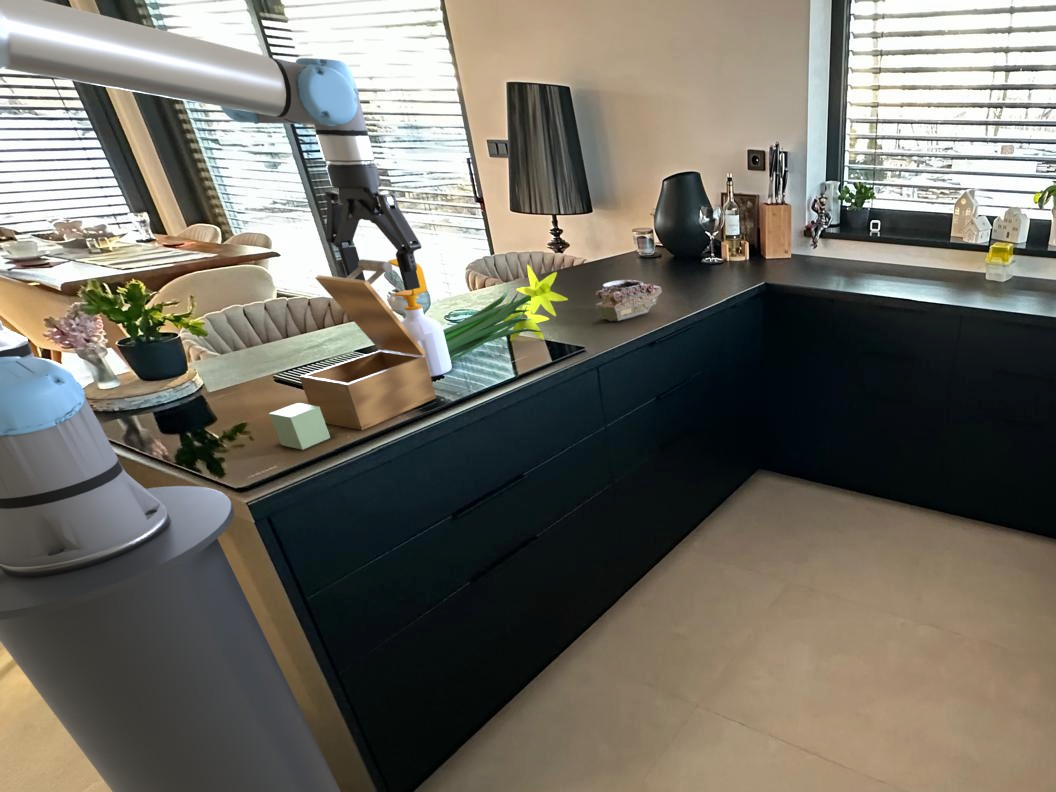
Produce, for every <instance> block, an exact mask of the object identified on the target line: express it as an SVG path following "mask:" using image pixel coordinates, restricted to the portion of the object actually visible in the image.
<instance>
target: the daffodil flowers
mask: <svg viewBox="0 0 1056 792" xmlns="http://www.w3.org/2000/svg"><path fill="white" fill-rule="evenodd" d="M526 267H527V269H526V270H527V277H528V281H529V285H530V286H522V287H518V288H516V291H517V292H515V295H514V296H513V298H512V299H511V300H506V303H505V304H502V303H503V302H504V301H505V299H506V297H507V296H508V293H509V290H510V289H509V288H508V289H507V290H506V291H505V292H504V293H503V295H501V296H500V297H499V298H498V299H496V300H495V301H493V302H492V303H490V304H488V305H487V306H485V307H484V308H482V309H481V310H479V311H477V312H475V313H473V314H472V315H470V316H469V317H467V318H465V319H463V320H462V321H460V322H458V323H456V324H453V325H451V326H448V327H446V328H443V332H444V336H445V340H446V344H447V348H448V352H449V356H450V360H451V363H452V362H453V361H455V360H457V359H459V358H461V357H463V356H465V355H467V354H468V353H470V352H473V351H474V350H476V349H477V348H479V347H481V346H483V345H484V344H487V343H490V342H493V341H495V340H499V339H501V338H504V337H508V336H510V337H509V342H513V341H514V340H515V339H516V338H517V337H518V336H519V335H520V334H521V333H523V332H531V333H532V334H533V335H535V336H536V337H538V338H540V339H541V340H545V337H544V334H543V331H542V330H541V329H540V327H539V326H538V325H537V324H538V323H543V322H545V321H549V320H550V318H549V317H548V316H545V315H542V314H536V312H537V311H538V309H539V307H540V306H542V307H543V309H544V310H545V311H546V312H547V313H549V314H550V315H552V316H554V317H557V314H556V311H555V309H554V306H553V305H552V302H565V301H568V300H569V298H567V297H566V296H564V295H562V294H560V293H557V292H555V291H551V287H552V285H553V284H554V282H555V279H556V277H557V274H558V272H557V271H555V272H552V273H551V274H548V276H546V277H545V278H543V279H542V280H540V281H539V279H538V277H537V275H536V274H535V272H534V270H533V269H532V267H531V266H530V265H529V264H528V263H527V264H526ZM519 293H521V294H522V295H521V296H520V298H519V299H517V300H516V298H517V296H518V294H519ZM523 294H524V295H526V296H524V295H523ZM501 304H502V305H501ZM520 306H521V308H520Z"/></svg>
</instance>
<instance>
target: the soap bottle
mask: <svg viewBox="0 0 1056 792" xmlns="http://www.w3.org/2000/svg"><path fill="white" fill-rule="evenodd" d="M387 262H389V263H390V264H391V265H392V266H394V267H397V268H399V265H398V262H397V258H393V259H389V260H388V261H387ZM416 266H417V270H416V273H417V277H418V281H419V285H420V288H416V289H412V290H405V289H404V290H401V291H397V292H394V297H402V299H403V300H404V301H406V305H404V306H403V308H404V312H405V318H404V319H402V320H400V322H401V323H402V324H403V325H404V327H405V328H406V329H407V330H408V331H409V333H410V334H411V335H412V336H413V338H414V339H415V340H416V341H417V342H418V344H419V345H420V346H421V347H422V349H423V350H424V351H425V352H426V354H425V355H424V356H423V357H426V361H427V365H428V369H429V372H430V376H431V378H432V377H438V376H442V375H444V374H446V373H449V372H450V371H451V370H452V367H453V365H452V362H451V360H450V359H451V357H450V356H449V352H448V348H447V344H446V340H445V336H444V332H443V330H444V328H443V325H442V324H441V323H440V321H438V320H437V319H434V318H432V317H430V316H427V315H425V313H424V309H423V306H422V304H420V303H417V299H419V297H418V295H421V294H424V293H426V292H427V291H428V285H427V281H426V279H425V274H424V271H423V267H421V265H420V264H418V263H417V262H416ZM399 353H402V352H399ZM403 354H408V353H403ZM410 355H415V354H410ZM416 356H422V355H416Z"/></svg>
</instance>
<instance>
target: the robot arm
mask: <svg viewBox="0 0 1056 792" xmlns="http://www.w3.org/2000/svg"><path fill="white" fill-rule="evenodd" d="M2 70H8V71H15V72H21V73H27V74H33V75H39V76H44V77H49V78H54V79H61V80H66V81H72V82H78V83H84V84H89V85H95V86H101V87H106V88H111V89H117V90H123V91H130V92H135V93H141V94H146V95H151V96H157V97H158V96H159V97H163V98H168V99H173V100H180V101H185V102H190V103H196V104H203V105H208V106H215V107H219V108H220V109H221V111H222V112H223V113H224V114H225V115H226V116H227V117H228V118H229V119H231V120H233V121H235V122H239V123H248V124H250V123H251V124H254V125H259V124H279V125H282V124H283V125H312V126H313V128H314V130H315V135H316V138H317V139H316V140H317V142H318V145H319V150H320V153H321V156H322V160H323V161H325V162H328V164H327V165H326V166H325V169H326V172H327V175H328V179H329V182H330V185H331V186H332V187H333V188H335V189H338V190H331V191H325V192H324V196H325V201H326V220H325V221H326V223H325V224H326V225H325V242H326V243H327V244H332V245H334V247H335V248H337V249H338V253H339V257H340V260H341V263H342V265H343V267H344V269H345V272H346V276H347V277H348V276H349V275H350V274H351V273H352V272H353V271H354V270H356V269H357V268H358V267H359V266H358V262H359V260H360V257H359V253H358V250H357V247H356V246H355V245H356V244H355V243H354V242H353V240H354V237H355V234H356V231H357V229H358V225H359V223H360V221H361V220H363V221H369V223H372V224H374V225H375V226H376V227H377V228H378V229H379V230H380V231H381V233H382V234H383V235H384V236H385V238H386V239H387V240H388V241H389V242H390V243H391V244H392V246H393V247H394V248H395V249H396V252H395V257H396V258H395V259H397V262H398V265H399V267H398V269H399V273H400V276H401V280H402V285H403V288H404V290H412V289H416V288H420V285H419V281H418V277H417V273H416V270H417V266H416V263H417V262H416V258H415V251H418V250H420V249H422V244H421V242H420V240H419V239H418V237H417V236H416V234H415V232H414V230H413V229H412V227H411V225H410V224H409V222H408V220H407V219H406V217H405V215H404V214H403V212H402V210H401V208H400V207H399V205H398V201H397V198H396V196H395V195H394V193H386V194H381V193H380V192H379V188H380V187H381V186H382V180H381V178H380V173H379V169H378V166H376V165H375V164H372V162H374V161H375V154H374V151H373V148H372V144H371V140H370V137H369V132H368V128H367V124H366V121H365V116H364V113H363V108H362V103H361V100H360V97H359V95H360V92H359V90H358V88H357V85H356V82H355V78H354V76H353V74H352V71H351V68H350V66H349V65H348V64H346V62H344V61H341V60H336V59H329V58H327V59H325V58H311V57H300V58H297V59H296V60H295V62H291V61H288V60H284V59H279V58H275V57H270V56H267V55H264V54H260V53H256V52H252V51H248V50H243V49H239V48H236V47H232V46H227V45H223V44H219V43H216V42H211V41H207V40H203V39H200V38H197V37H191V36H187V35H183V34H179V33H177V32H171V31H167V30H163V29H159V28H156V27H151V26H147V25H143V24H139V23H135V22H131V21H127V20H123V19H119V18H115V17H111V16H107V15H103V14H99V13H95V12H91V11H87V10H83V9H79V8H74V7H71V6H66V5H64V4H63V5H62V4H59V3H54V2H50V1H46V0H0V72H1V71H2ZM354 279H357V280H366V277H365V274H364V270H363V271H362V272H361V273H360V274H359V275H358V276H357V277H356V278H354ZM2 322H3V321H1V319H0V568H1V569H2V571H3V572H4V573H5V574H8V575H11V576H15V577H43V576H51V575H57V574H63V573H68V572H72V571H76V570H80V569H84V568H88V567H91V566H94V565H98V564H101V563H104V562H106V561H109V560H112V559H115V558H117V557H120V556H122V555H124V554H127V553H129V552H131V551H133V550H135V549H137V548H139V547H141V546H143V545H145V544H146V543H148V542H150V541H151V540H153V539H154V538H156V537H157V536H158V535H160V534H161V533H162V532H163V531H164V530H165V529H166V528H167V527H168V525H169V523H170V520H171V518H170V515H169V514H168V512H167V510H166V508H165V506H164V505H163V504H162V503H161V502H160V501H159V500H158V499H157V498H156V497H154V496H153V495H152V494H151V493H150V492H148V491H147V490H146V489H147V488H145V487H144V486H143V485H141V484H140V483H139V482H137V481H136V480H135V479H134V478H133V477H131V476H130V475H129V474H128V473H127V472H126V471H125V468H124V467H123V465H122V464H121V462H120V460H119V457H118V456H117V454H116V452H115V450H114V448H113V446H112V444H111V442H110V440H109V439H108V437H107V435H106V433H105V431H104V429H103V428H102V425H101V424H100V422H99V420H98V418H97V416H96V414H95V413H94V411H93V409H92V407H91V405H90V403H89V401H88V399H87V397H86V393H85V390H84V387H83V386H82V385H81V384H80V382H79V381H78V380H77V379H76V378H75V377H74V375H73V373H72V372H71V371H70V370H69V369H68V368H67V367H66V366H64V365H63V364H61V363H59V362H57V361H55V360H51V359H48V358H42V357H35V355H34V353H33V350H32V348H31V345H30V343H29V339H28V338H27V337H25V336H23V335H21V334H18V333H17V332H14V331H11V330H10V329H8V328H7V327H5V326H3V325H4V324H3V323H2Z"/></svg>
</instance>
